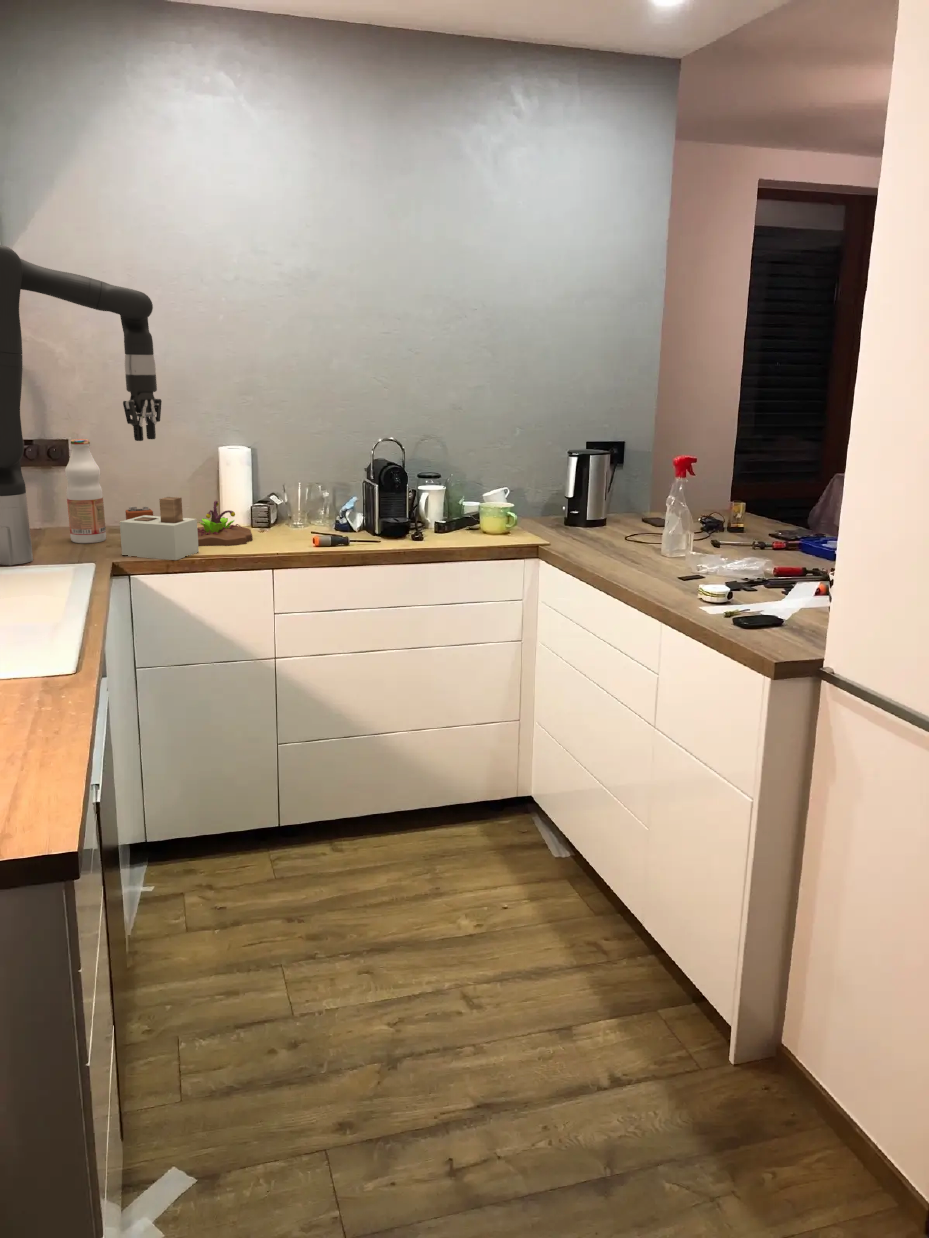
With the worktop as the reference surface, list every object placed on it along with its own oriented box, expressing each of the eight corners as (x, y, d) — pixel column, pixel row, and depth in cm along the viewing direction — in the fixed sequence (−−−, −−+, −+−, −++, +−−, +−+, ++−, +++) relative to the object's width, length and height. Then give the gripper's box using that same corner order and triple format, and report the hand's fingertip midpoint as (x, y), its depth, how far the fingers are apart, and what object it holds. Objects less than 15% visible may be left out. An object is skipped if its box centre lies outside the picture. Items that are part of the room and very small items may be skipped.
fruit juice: (77, 545, 272) (68, 442, 264) (66, 539, 279) (56, 439, 271) (111, 541, 277) (103, 440, 270) (99, 536, 284) (91, 437, 277)
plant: (257, 534, 293) (255, 496, 290) (248, 547, 274) (247, 507, 271) (188, 534, 291) (185, 496, 288) (175, 547, 272) (172, 507, 269)
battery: (127, 542, 277) (124, 506, 274) (152, 540, 280) (149, 505, 277) (130, 544, 273) (127, 508, 271) (155, 542, 276) (153, 507, 274)
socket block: (175, 560, 254) (173, 525, 252) (122, 555, 259) (119, 521, 256) (198, 552, 265) (196, 518, 262) (146, 548, 269) (144, 515, 267)
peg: (175, 534, 257) (172, 499, 254) (161, 533, 258) (159, 499, 255) (183, 531, 260) (181, 497, 258) (170, 530, 261) (168, 496, 259)
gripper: (136, 374, 247) (141, 443, 251) (169, 372, 260) (173, 438, 265) (110, 373, 249) (116, 441, 253) (144, 372, 262) (148, 437, 267)
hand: (145, 439), depth 259 cm, fingers open, 5 cm apart
